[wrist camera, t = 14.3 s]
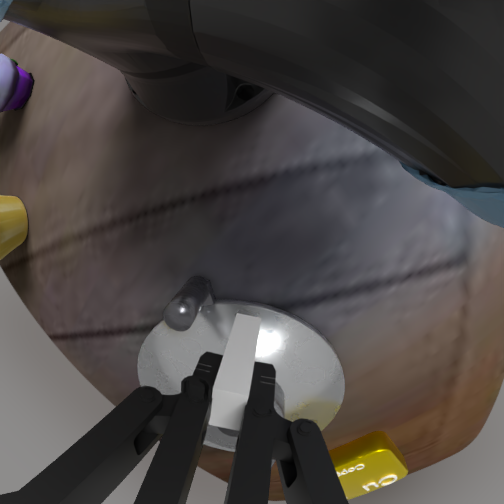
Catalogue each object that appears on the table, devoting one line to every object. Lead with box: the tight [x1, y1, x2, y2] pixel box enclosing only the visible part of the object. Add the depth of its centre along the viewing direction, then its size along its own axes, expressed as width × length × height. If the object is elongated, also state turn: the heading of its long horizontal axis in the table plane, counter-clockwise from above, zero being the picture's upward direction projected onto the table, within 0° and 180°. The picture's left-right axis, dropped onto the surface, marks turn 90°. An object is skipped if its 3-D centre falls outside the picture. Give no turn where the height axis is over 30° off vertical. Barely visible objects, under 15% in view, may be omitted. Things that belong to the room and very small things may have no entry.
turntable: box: [137, 276, 345, 452], centre depth 26 cm, size 27×24×6 cm
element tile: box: [328, 431, 408, 500], centre depth 32 cm, size 15×15×5 cm
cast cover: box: [205, 381, 285, 449], centre depth 26 cm, size 10×10×4 cm
